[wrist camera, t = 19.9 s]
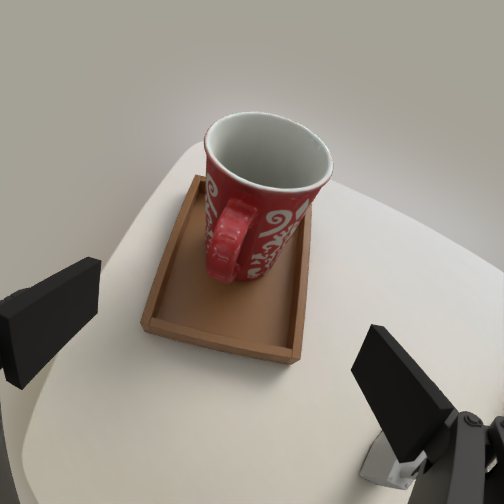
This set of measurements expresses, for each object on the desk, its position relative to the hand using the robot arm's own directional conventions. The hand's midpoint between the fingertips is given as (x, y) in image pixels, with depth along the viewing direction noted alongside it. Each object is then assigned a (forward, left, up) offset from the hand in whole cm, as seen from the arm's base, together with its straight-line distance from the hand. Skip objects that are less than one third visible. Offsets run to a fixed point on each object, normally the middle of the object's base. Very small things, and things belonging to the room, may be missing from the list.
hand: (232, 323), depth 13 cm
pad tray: (0, +11, -13) cm, 17 cm away
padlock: (+18, -6, -14) cm, 24 cm away
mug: (0, +11, -13) cm, 17 cm away
